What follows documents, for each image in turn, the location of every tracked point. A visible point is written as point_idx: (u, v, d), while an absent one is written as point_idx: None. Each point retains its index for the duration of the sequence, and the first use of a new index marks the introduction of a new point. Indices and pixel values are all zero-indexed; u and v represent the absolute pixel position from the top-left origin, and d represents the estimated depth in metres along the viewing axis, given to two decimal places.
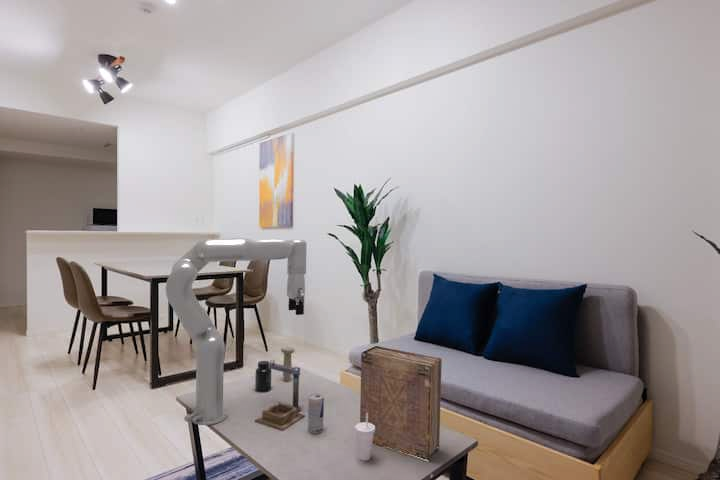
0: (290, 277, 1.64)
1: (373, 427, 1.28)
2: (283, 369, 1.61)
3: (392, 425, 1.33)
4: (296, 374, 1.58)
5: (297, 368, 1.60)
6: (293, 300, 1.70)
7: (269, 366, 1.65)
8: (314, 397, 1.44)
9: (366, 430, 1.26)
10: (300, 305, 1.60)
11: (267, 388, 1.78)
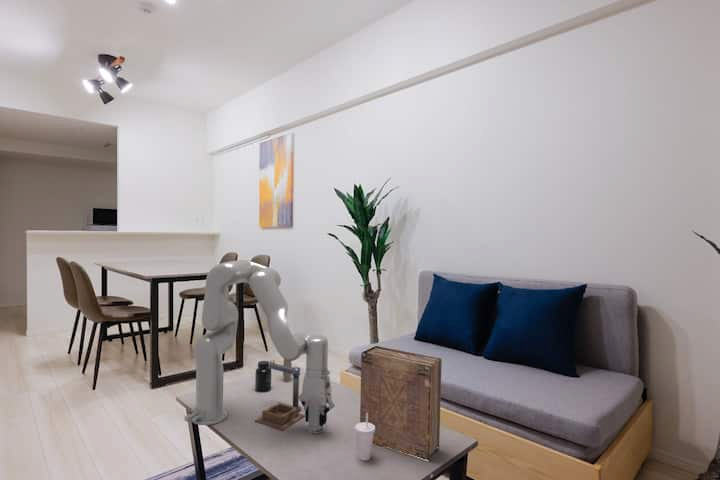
0: None
1: (373, 427, 1.28)
2: (283, 369, 1.61)
3: (392, 425, 1.33)
4: (296, 374, 1.58)
5: (297, 368, 1.60)
6: None
7: (269, 366, 1.65)
8: None
9: (366, 430, 1.26)
10: None
11: (267, 388, 1.78)
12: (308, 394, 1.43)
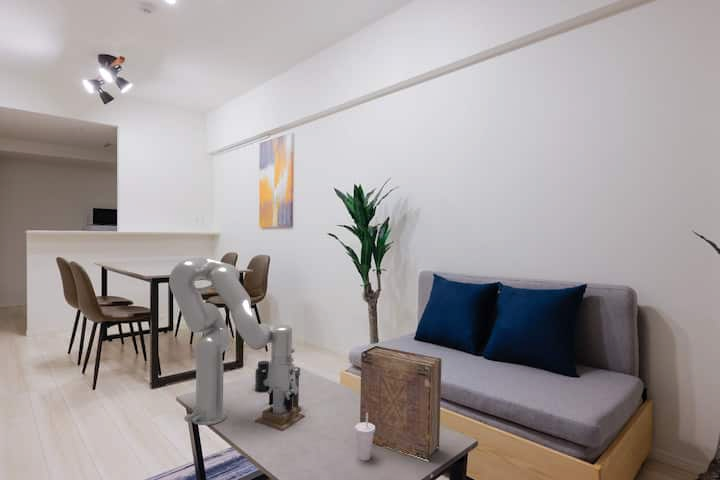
0: None
1: (373, 427, 1.28)
2: None
3: (392, 425, 1.33)
4: (296, 374, 1.58)
5: (297, 368, 1.60)
6: None
7: None
8: None
9: (366, 430, 1.26)
10: None
11: None
12: (273, 380, 1.51)
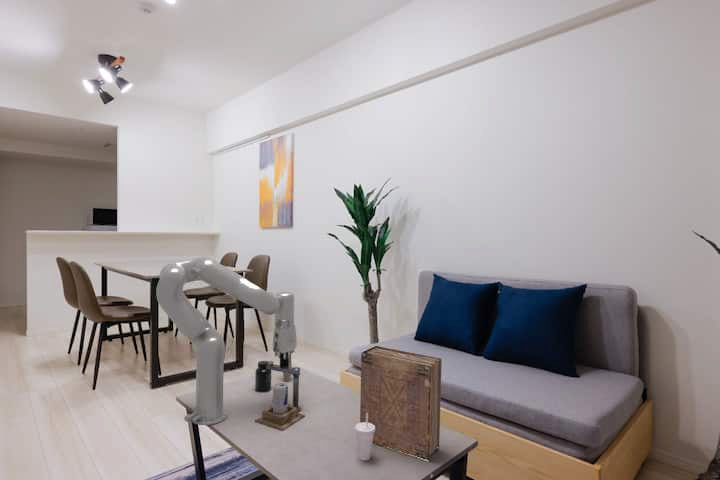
0: (290, 330, 1.64)
1: (373, 427, 1.28)
2: (283, 369, 1.61)
3: (392, 425, 1.33)
4: (296, 374, 1.58)
5: (297, 368, 1.60)
6: None
7: (268, 367, 1.64)
8: (278, 386, 1.52)
9: (366, 430, 1.26)
10: None
11: (267, 388, 1.78)
12: None
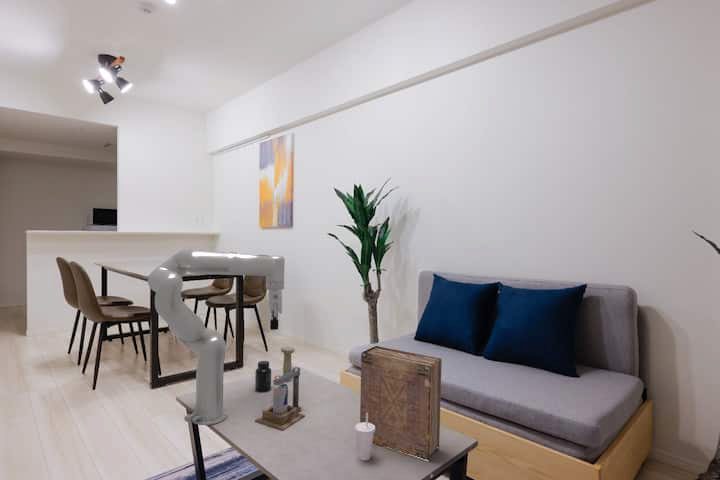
0: None
1: (373, 427, 1.28)
2: (291, 376, 1.54)
3: (392, 425, 1.33)
4: (299, 372, 1.60)
5: (296, 368, 1.60)
6: None
7: (279, 382, 1.48)
8: (278, 386, 1.52)
9: (366, 430, 1.26)
10: None
11: (267, 388, 1.78)
12: None
